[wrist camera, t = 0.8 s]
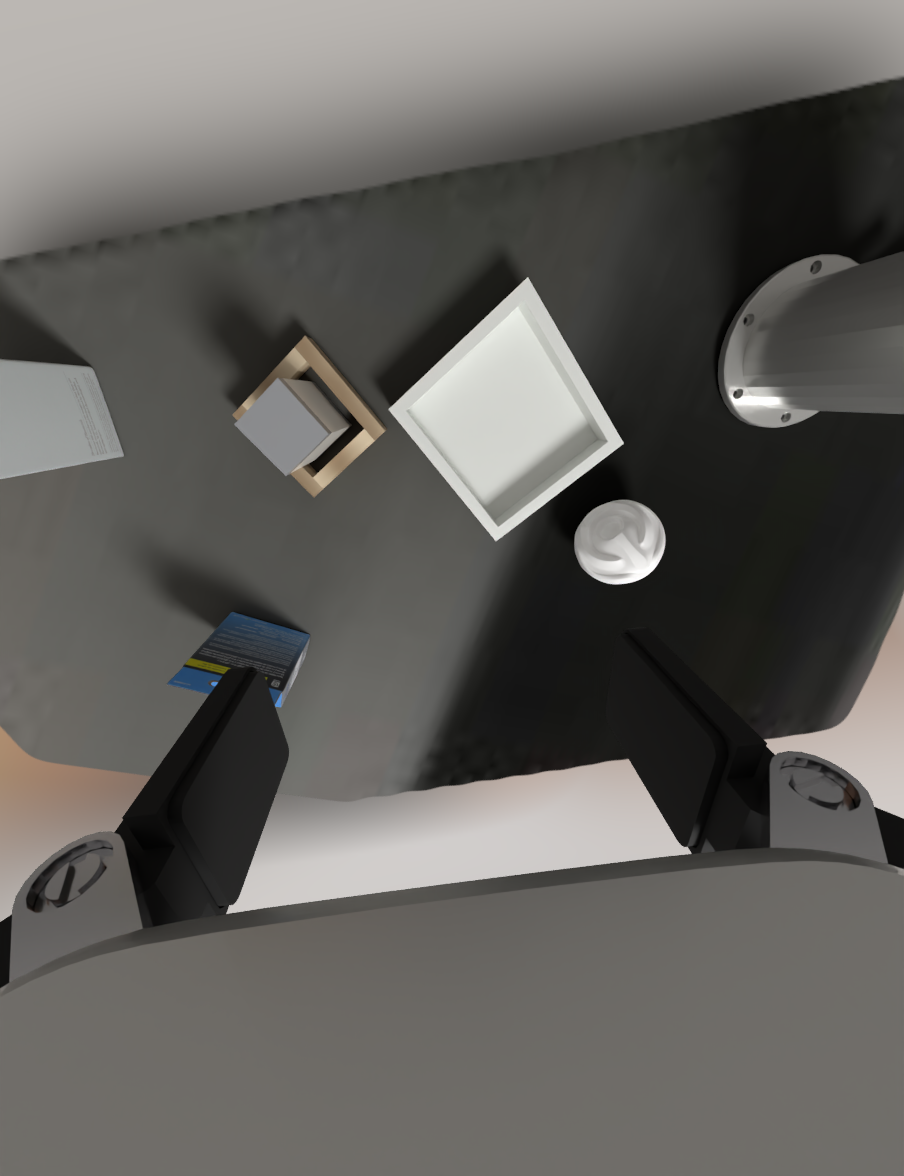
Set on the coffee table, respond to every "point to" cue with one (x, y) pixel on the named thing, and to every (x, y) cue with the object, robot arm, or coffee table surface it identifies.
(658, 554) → the white grooved ball
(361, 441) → the tan wooden flat frame
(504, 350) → the parts tray
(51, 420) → the supplement box
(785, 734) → the coffee table surface
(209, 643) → the label tape cartridge
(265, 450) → the grey white rectangular block
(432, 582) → the coffee table surface
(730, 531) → the coffee table surface
